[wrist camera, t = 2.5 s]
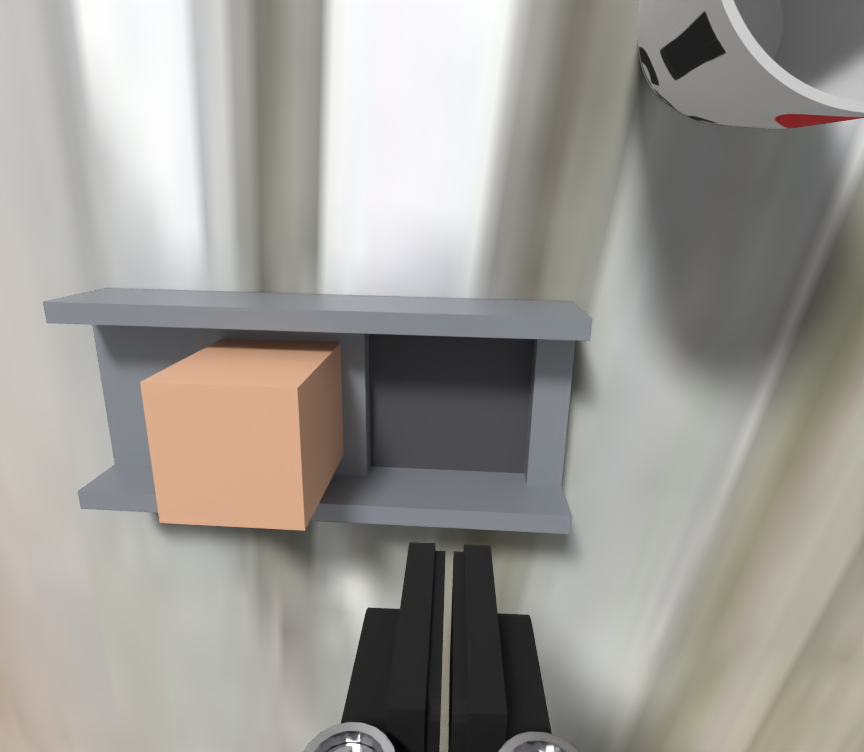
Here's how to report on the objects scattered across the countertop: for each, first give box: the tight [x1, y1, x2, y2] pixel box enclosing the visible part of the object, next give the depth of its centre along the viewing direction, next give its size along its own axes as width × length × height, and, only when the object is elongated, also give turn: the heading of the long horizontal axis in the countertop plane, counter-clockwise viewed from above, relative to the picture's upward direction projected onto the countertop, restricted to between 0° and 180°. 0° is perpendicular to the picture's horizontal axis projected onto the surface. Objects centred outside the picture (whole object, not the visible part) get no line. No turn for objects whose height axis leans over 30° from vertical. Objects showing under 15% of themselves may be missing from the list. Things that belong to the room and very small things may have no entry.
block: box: [140, 339, 344, 531], centre depth 21 cm, size 5×5×6 cm
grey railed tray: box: [43, 288, 592, 534], centre depth 23 cm, size 20×9×4 cm, turn 89°
